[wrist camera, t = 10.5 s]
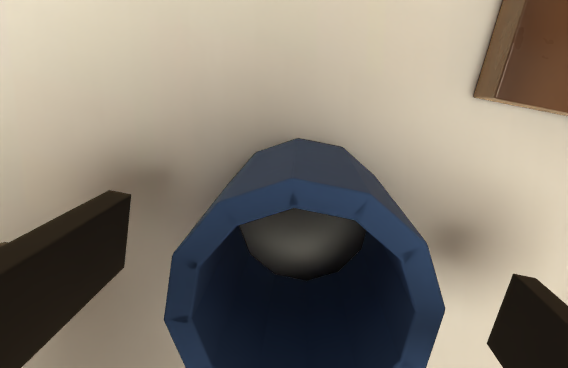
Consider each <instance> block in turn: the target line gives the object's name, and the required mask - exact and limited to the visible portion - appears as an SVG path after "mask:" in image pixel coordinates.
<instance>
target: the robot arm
mask: <svg viewBox="0 0 568 368" xmlns="http://www.w3.org/2000/svg"><path fill="white" fill-rule="evenodd" d="M130 202H131V194H126V193H121V192H116V191H111V190H109V191H107V192H105V193H103V194H101V195H99V196H97V197H95V198H93V199H91V200H89V201H88V202H86V203H84V204H82V205H80V206H78V207H76V208H74V209H72V210H70V211H68V212H66V213H65V214H63V215H61V216H59V217H57V218H55V219H53V220H51V221H49V222H47V223H45V224H44V225H42V226H40V227H38V228H36V229H34V230H32V231H30V232H28V233H26V234H24V235H22V236H21V237H19V238H17V239H15V240H13V241H11V242H9V243H8V242H3V243H0V368H21V367H22V366H23V365H24V364H25V363H26V362H27V361H29V360H30V359H31V358H32V357H33V356H34V355H35V354H36V353H37V352H38V351H39V350H40V349H41V348H42V347H43V346H44V345H45V344H46V343H47V342H48V341H49V340H50V339H51V338H52V337H53V336H54V335H55V334H56V333H57V332H58V331H59V330H60V329H61V328H62V327H63V326H64V325H65V324H66V323H67V322H69V321H70V320H71V319H72V318H73V317H74V316H75V315H76V314H77V313H78V312H79V311H80V310H81V309H82V308H83V307H84V306H85V305H86V304H87V303H88V302H89V301H90V300H91V299H92V298H93V297H94V296H95V295H96V294H97V293H98V292H99V291H100V290H101V289H102V288H103V287H104V286H105V285H106V284H107V283H108V282H110V281H111V280H112V279H113V278H114V277H115V276H116V275H117V274H118V273H119V272H120V271H121V270H122V269H123V268H124V264H125V254H126V243H127V233H128V223H129V212H130ZM487 344H488V346H489V347H490V349H491V350H492V352H493V353H494V355H495V356H496V358H497V359H498V361H499V362H500V364H501V365H502V367H503V368H568V306H567V305H566V304H565V303H564V302H563V301H562V300H560V299H559V298H558V297H557V296H556V295H555V294H554V293H552V292H551V291H550V290H549V289H548V288H547V287H545V286H544V285H543V284H542V283H541V282H540V281H538V280H537V279H536V278H532V277H527V276H522V275H517V274H513V276H512V278H511V281H510V284H509V286H508V289H507V292H506V294H505V297H504V299H503V302H502V305H501V307H500V310H499V313H498V315H497V318H496V320H495V323H494V326H493V328H492V331H491V334H490V336H489V339H488V342H487Z"/></svg>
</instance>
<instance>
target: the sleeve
mask: <svg viewBox="0 0 568 368" xmlns="http://www.w3.org/2000/svg"><path fill="white" fill-rule="evenodd" d="M292 208H297V209H302V210H307V211H312V212H317V213H322V214H326V215H331V216H336V217H341V218H346V219H351V220H355V221H356V222H357V223H358V224H359V225H361V226H362V227H363V228H364V229H365V230H366V233H365V237H364V241H363V244H362V248H361V250H360V251H359V252H358V253H357V254H355V255H354V256H353V257H352V258H351V259H350V260H349V261H348V262H347V263H346V264H345V265H344V266H343V267H342V268H341V269H340V270H339V271H338V272H335V273H332V274H328V275H325V276H321V277H318V278H314V279H311V280H307V281H306V280H301V279H296V278H291V277H286V276H281V275H276V274H274V273H273V272H271V271H270V270H269V269H268V268H267V267H265V266H264V265H263V264H262V263H260V262H259V261H258V260H257V259H255V258H254V257H253V256H252V255H251V254H250V253H249V250H248V248H247V245H246V243H245V240H244V238H243V235H242V232H241V230H240V227H239V225H241V224H245V223H248V222H251V221H254V220H257V219H261V218H264V217H267V216H270V215H273V214H276V213H280V212H283V211H286V210H289V209H292ZM444 312H445V306H444V302H443V298H442V295H441V291H440V288H439V284H438V281H437V277H436V273H435V270H434V266H433V263H432V259H431V255H430V252H429V248H428V245H427V243H426V241H425V240H424V239H423V237H422V236H421V235H420V234H419V232H418V231H417V230H416V228H415V227H414V226H413V225H412V223H411V222H410V221H409V219H408V218H407V217H406V216H405V214H404V213H403V212H402V210H401V209H400V208H399V207H398V205H397V204H396V203H395V201H394V200H393V199H392V198H391V196H390V195H389V194H388V192H387V191H386V190H385V189H384V187H383V186H382V185H381V183H380V182H379V181H378V180H377V178H376V177H375V176H374V175H373V174H372V173H371V172H370V171H369V170H368V169H366V168H365V167H364V166H363V165H362V164H361V163H360V162H359V161H357V160H356V159H355V158H354V157H353V156H352V155H351V154H350V153H348V152H347V151H346V150H345V149H344V148H343V147H340V146H335V145H330V144H325V143H320V142H315V141H310V140H305V139H300V138H298V139H294V140H291V141H288V142H285V143H282V144H279V145H276V146H273V147H270V148H267V149H264V150H261V151H258V152H256V153H255V154H254V155H253V156H252V157H251V158H250V159H249V161H248V162H247V163H246V164H245V165H244V166H243V167H242V169H241V170H240V171H239V172H238V173H237V174H236V176H235V177H234V178H233V179H232V180H231V181H230V183H229V184H228V185H227V186H226V187H225V189H224V190H223V191H222V193H221V194H220V195H219V196H218V198H217V199H216V200H215V201H214V203H213V204H212V205H211V206H210V208H209V209H208V210H207V211H206V213H205V214H204V215H203V216H202V218H201V219H200V220H199V221H198V223H197V224H196V225H195V227H194V228H193V229H192V230H191V232H190V233H189V234H188V235H187V237H186V238H185V239H184V240H183V242H182V243H181V244H180V245H179V247H178V248H177V249H176V250H175V252H174V253H173V255H172V261H171V269H170V276H169V284H168V292H167V299H166V307H165V314H164V322H165V324H166V326H167V328H168V330H169V333H170V335H171V337H172V339H173V341H174V343H175V346H176V348H177V350H178V352H179V354H180V356H181V359H182V361H183V363H184V365H185V367H186V368H426V366H427V363H428V360H429V357H430V354H431V351H432V348H433V345H434V342H435V339H436V336H437V333H438V330H439V327H440V324H441V321H442V318H443V315H444Z"/></svg>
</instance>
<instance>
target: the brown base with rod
mask: <svg viewBox="0 0 568 368" xmlns="http://www.w3.org/2000/svg"><path fill="white" fill-rule="evenodd" d="M474 97H475V98H480V99H485V100H490V101H495V102H500V103H505V104H510V105H515V106H520V107H525V108H530V109H535V110H540V111H545V112H550V113H555V114H560V115H565V116H568V0H503V2H502V6H501V9H500V12H499V15H498V19H497V22H496V25H495V28H494V32H493V35H492V38H491V41H490V45H489V48H488V51H487V54H486V58H485V61H484V64H483V67H482V71H481V74H480V77H479V80H478V84H477V87H476V90H475V93H474Z"/></svg>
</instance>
